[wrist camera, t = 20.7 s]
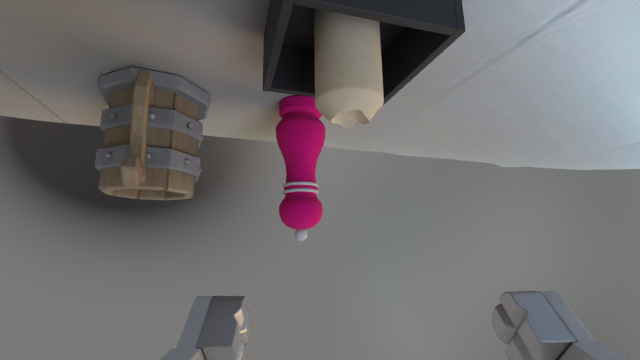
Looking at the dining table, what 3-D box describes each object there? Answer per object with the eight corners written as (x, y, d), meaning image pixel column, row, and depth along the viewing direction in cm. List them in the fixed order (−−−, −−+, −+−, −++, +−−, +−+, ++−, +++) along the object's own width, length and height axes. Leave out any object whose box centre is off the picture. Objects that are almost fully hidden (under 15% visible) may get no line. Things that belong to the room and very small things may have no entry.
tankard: (205, 117, 51) (199, 209, 48) (113, 104, 46) (100, 206, 43) (219, 47, 33) (211, 188, 30) (71, 13, 28) (43, 179, 25)
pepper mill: (266, 105, 46) (263, 241, 43) (297, 87, 41) (297, 240, 38) (302, 117, 51) (303, 241, 48) (334, 103, 46) (338, 240, 43)
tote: (263, 37, 31) (262, 90, 30) (284, -86, 20) (283, -6, 18) (380, 56, 35) (383, 105, 34) (457, -38, 23) (465, 31, 22)
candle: (387, -10, 25) (395, 109, 23) (367, 35, 30) (372, 134, 28) (318, -17, 24) (320, 105, 22) (310, 31, 29) (311, 132, 27)
